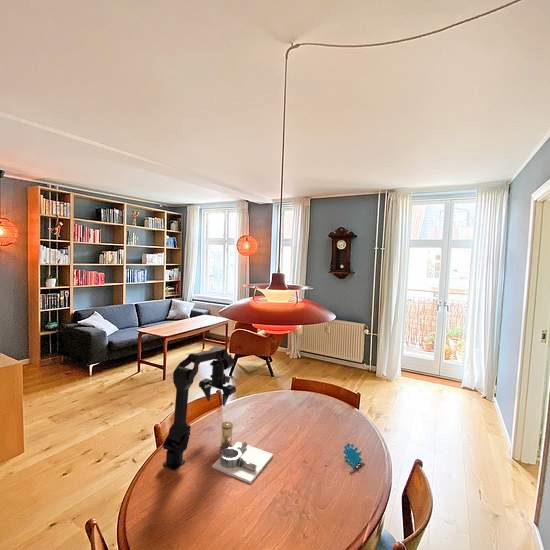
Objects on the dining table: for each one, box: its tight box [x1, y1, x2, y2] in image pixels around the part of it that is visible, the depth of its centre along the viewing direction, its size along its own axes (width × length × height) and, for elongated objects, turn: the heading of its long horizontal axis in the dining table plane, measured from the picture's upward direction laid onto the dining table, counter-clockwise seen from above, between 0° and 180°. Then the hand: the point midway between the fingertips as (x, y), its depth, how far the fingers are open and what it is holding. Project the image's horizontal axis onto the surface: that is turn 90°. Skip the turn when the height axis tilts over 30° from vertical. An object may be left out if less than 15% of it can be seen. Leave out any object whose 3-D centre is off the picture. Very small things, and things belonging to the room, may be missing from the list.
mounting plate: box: [211, 441, 274, 485], centre depth 136 cm, size 20×18×1 cm
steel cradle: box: [219, 441, 257, 472], centre depth 136 cm, size 16×16×4 cm
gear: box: [342, 443, 363, 469], centre depth 141 cm, size 11×6×10 cm
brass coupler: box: [220, 421, 233, 449], centre depth 147 cm, size 5×5×10 cm
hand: (216, 403), depth 157 cm, fingers open, 9 cm apart
